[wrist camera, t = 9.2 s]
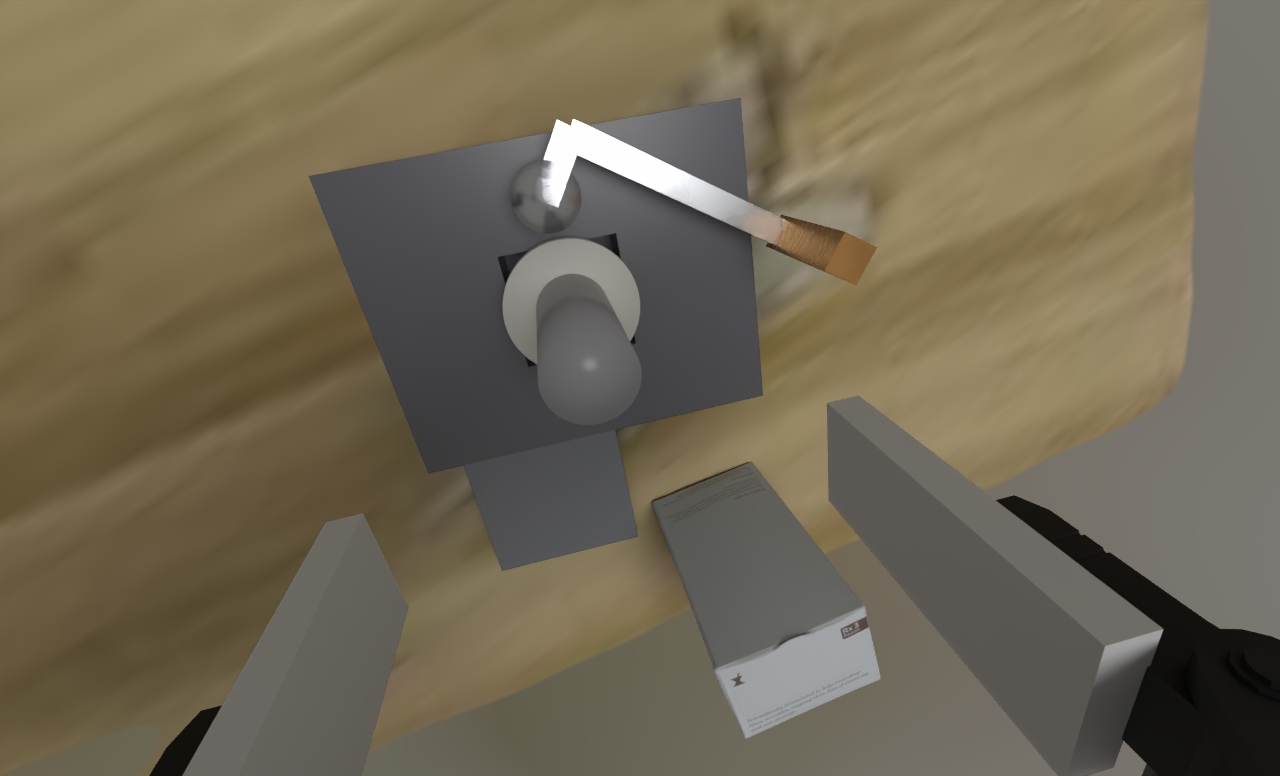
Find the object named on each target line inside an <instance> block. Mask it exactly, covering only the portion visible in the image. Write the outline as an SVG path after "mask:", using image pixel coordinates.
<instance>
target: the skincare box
mask: <svg viewBox="0 0 1280 776" xmlns="http://www.w3.org/2000/svg"><path fill="white" fill-rule="evenodd" d="M653 507H654V510H655V513H656V515H657V518H658V520H659V523H660V526H661V528H662V531H663V533H664V536H665V539H666V541H667V544H668V546H669V549H670V552H671V554H672V557H673V560H674V562H675V565H676V568H677V570H678V573H679V576H680V578H681V581H682V584H683V586H684V589H685V592H686V594H687V597H688V600H689V602H690V605H691V608H692V610H693V613H694V615H695V618H696V621H697V624H698V626H699V629H700V632H701V635H702V637H703V640H704V643H705V645H706V648H707V651H708V654H709V656H710V659H711V662H712V665H713V670H714V672H715V674H716V677H717V679H718V681H719V683H720V686H721V689H722V690H723V693H724V695H725V697H726V699H727V702H728V704H729V705H730V708H731V710H732V712H733V714H734V716H735V718H736V720H737V723H738V725H739V727H740V729H741V731H742V733H743V734H744V736H745V738H749V737H751V736H753V735H755V734H757V733H760V732H762V731H764V730H766V729H769V728H771V727H773V726H775V725H777V724H779V723H781V722H784V721H786V720H788V719H790V718H792V717H794V716H797V715H799V714H801V713H804V712H806V711H808V710H810V709H812V708H814V707H817V706H819V705H821V704H824V703H826V702H828V701H831V700H833V699H835V698H837V697H839V696H842V695H844V694H846V693H848V692H851V691H853V690H856V689H858V688H860V687H863V686H865V685H867V684H870V683H872V682H875V681H877V680H879V679H880V673H879V668H878V664H877V659H876V655H875V651H874V647H873V642H872V638H871V633H870V629H869V624H868V619H867V613H866V607H865V605H864V604H863V602H862V601H861V600H860V599H859V597H858V596H857V595H856V594H855V592H854V591H853V590H852V589H851V588H850V586H849V585H848V584H847V582H846V581H845V580H844V579H843V577H842V576H841V575H840V574H839V572H838V571H837V570H836V568H835V567H834V566H833V565H832V563H831V562H830V561H829V559H828V558H827V557H826V556H825V554H824V553H823V552H822V551H821V549H820V548H819V547H818V545H817V544H816V543H815V542H814V540H813V539H812V538H811V536H810V535H809V534H808V533H807V531H806V530H805V529H804V528H803V526H802V525H801V524H800V522H799V521H798V520H797V519H796V517H795V516H794V515H793V514H792V512H791V511H790V510H789V509H788V507H787V506H786V505H785V503H784V502H783V501H782V500H781V498H780V497H779V496H778V495H777V493H776V492H775V491H774V490H773V488H772V487H771V486H770V484H769V483H768V482H767V481H766V479H765V478H764V477H763V475H762V474H761V473H760V472H759V470H758V469H757V468H756V467H755V465H754V464H753V463H752V462H749V463H747V464H744V465H742V466H739V467H737V468H735V469H732V470H730V471H727V472H725V473H723V474H720V475H718V476H715V477H713V478H710V479H708V480H705V481H703V482H700V483H698V484H695V485H693V486H690V487H688V488H686V489H683V490H681V491H679V492H676V493H674V494H671V495H669V496H666V497H664V498H661V499H659V500H656V501H654V502H653Z"/></svg>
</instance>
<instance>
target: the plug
mask: <svg viewBox="0 0 1280 776" xmlns="http://www.w3.org/2000/svg"><path fill="white" fill-rule="evenodd" d="M502 307H503V318H504V323H505V326H506V329H507V332H508V334H509V336H510V338H511V340H512V341H513V343H514V344H515V346H516V347H517V348H518V349H519V350H520V352H521V353H522V354H523V355H525V356H526V357H527V358H528V359H529V360H531V361H532V362H534V363H535V364H537V369H538V387H539V391H540V394H541V397H542V399H543V401H544V402H545V404H546V405H547V407H548V408H549V409H550V410H551V411H552V412H553V413H555V414H556V415H557V416H559V417H560V418H562V419H564V420H566V421H568V422H571V423H575V424H580V425H595V424H601V423H604V422H607V421H610V420H612V419H614V418H616V417H618V416H619V415H621V414H622V413H623V412H624V411H626V410H627V409H628V408H629V406H630V405H631V404H632V403H633V401H634V400H635V398H636V396H637V394H638V392H639V389H640V385H641V380H642V371H641V365H640V361H639V359H638V356H637V354H636V352H635V350H634V348H633V346H632V344H631V343H630V341H631V339H632V338H633V335H634V333H635V331H636V328H637V325H638V322H639V316H640V296H639V292H638V288H637V285H636V282H635V280H634V278H633V276H632V274H631V272H630V271H629V269H628V268H627V267H626V265H625V264H624V263H623V261H622V260H621V259H620V258H619V257H618V256H617V255H616V254H615V253H613V252H612V251H611V250H610V249H608V248H607V247H605V246H603V245H602V244H600V243H597V242H595V241H592V240H589V239H586V238H580V237H560V238H555V239H551V240H547V241H545V242H542V243H540V244H538V245H537V246H535V247H533V248H532V249H530V250H529V251H528V252H526V253H525V254H524V255H523V256H522V257H521V258H520V259H519V260H518V262H517V263H516V264H515V266H514V267H513V269H512V271H511V273H510V274H509V277H508V279H507V282H506V286H505V290H504V295H503V305H502Z"/></svg>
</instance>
